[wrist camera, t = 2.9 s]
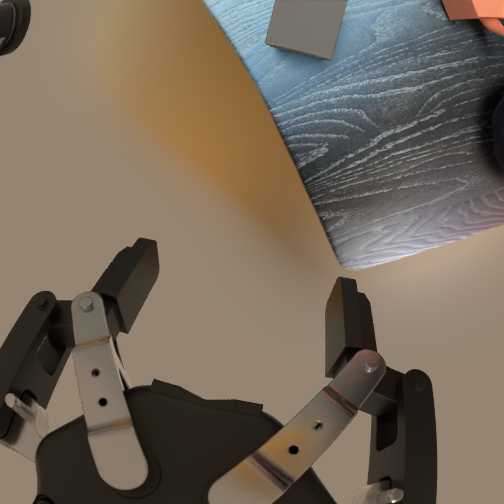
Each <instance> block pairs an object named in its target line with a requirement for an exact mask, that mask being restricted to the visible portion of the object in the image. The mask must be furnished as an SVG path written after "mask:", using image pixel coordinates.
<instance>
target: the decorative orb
mask: <svg viewBox="0 0 504 504" xmlns="http://www.w3.org/2000/svg"><path fill="white" fill-rule="evenodd" d="M492 124H493V143H494V156H495V157H496V159H497V161H498V163H499V164H500V166H501V168H502V170H503V172H504V96H503V97H502V99H501V101H500V102H499V104H498V106H497V107H496V109H495V111H494V112H493V114H492Z"/></svg>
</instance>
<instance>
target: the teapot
mask: <svg viewBox="0 0 504 504" xmlns="http://www.w3.org/2000/svg"><path fill="white" fill-rule="evenodd" d="M442 2H443V4H444V7H445V9H446V11H447V14H448V16H449V19H450V20H462V19H479V20H480V21H481V22H482V24H483V25H484V26H485V27H486V28H487V29H488V30H490V31H492V32H494V33H496V34H498V35H500V36H502V37H504V27H503V25H502V24H501V22H500V21H499V19H504V0H442Z"/></svg>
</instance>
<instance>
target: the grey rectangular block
mask: <svg viewBox="0 0 504 504" xmlns="http://www.w3.org/2000/svg"><path fill="white" fill-rule="evenodd" d="M346 3H347V0H275V4H274V8H273V12H272V16H271V20H270V24H269V28H268V32H267V37H266V41H265V44H267V45H270V46H272V47H274V48H277V49H281V50H286V51H290V52H294V53H298V54H302V55H306V56H310V57H313V58H317V59H321V60H331V59H332V56H333V52H334V48H335V45H336V41H337V37H338V34H339V30H340V26H341V22H342V19H343V15H344V11H345V7H346Z"/></svg>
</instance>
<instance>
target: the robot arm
mask: <svg viewBox="0 0 504 504" xmlns="http://www.w3.org/2000/svg"><path fill="white" fill-rule="evenodd" d="M17 19H18V11H17V7H16V5H15V4H14V3H13V2H5V3H1V4H0V50H1V49H3V48H5V47H6V46H7V45H8V43H9V42H10V40H11V39H12V37H13V34H14V32H15V29H16V25H17ZM158 274H159V259H158V251H157V242H156V241H155V240H150V239H144V238H139V239H138V240H137V241H136V242H135V244H134V245H133V246H132V247H128V246H127V247H126V248H125V249H123V250H122V251H120V252H119V253H118V254H117V255H116V257H115V258H114V259H113V262H111V263H110V265H109V266H108V268H107V269H106V270H105V272H104V273H103V274H102V276H101V277H100V279H99V280H98V282H97V283H96V285H95V286H94V287H93V289H92V290H91V291H90V292H84V293H81V294H79V295H78V296H77V297H76V298H75V299H74V300H73V301H70V300H68V301H67V300H61V301H60V300H57V299H56V297H55V295H54V294H53V293H52V292H50V291H41V292H39V293H37V294H36V295H34V296H33V297H32V298H31V300H30V301H29V303H28V304H27V306H26V307H25V309H24V310H23V312H22V313H21V315H20V316H19V318H18V320H17V321H16V323H15V325H14V326H13V328H12V330H11V331H10V333H9V334H8V336H7V338H6V340H5V341H4V343H3V345H2V347H1V349H0V444H2V445H3V446H5V447H7V448H11V449H12V450H14V451H16V452H18V453H20V454H21V455H23V456H25V457H26V458H28V459H29V460H31V461H33V462H34V463H35V464H36V472H37V495H36V498H35V500H34V502H33V504H337V503H336V502H335V500H334V499H333V498H332V496H331V495H330V493H329V492H328V490H327V489H326V487H325V486H324V485H323V483H322V482H321V480H320V479H319V477H318V476H317V474H316V473H315V471H314V470H313V468H312V467H311V465H312V464H313V463H314V462H315V461H316V460H317V459H318V458H319V457H320V456H321V455H322V454H323V453H324V452H325V451H326V450H327V449H328V447H329V446H330V445H331V444H332V443H333V442H334V441H335V440H336V439H337V437H338V436H339V435H340V434H341V433H342V431H343V430H344V429H345V428H346V427H347V426H348V424H349V423H350V422H351V421H352V420H353V418H354V417H355V416H356V414H357V413H358V412H357V411H358V410H360V411H363V412H365V413H368V414H371V415H372V420H371V443H370V459H369V472H368V481H367V486H365V487H363V488H361V489H360V490H358V492H357V493H356V494H355V496H354V498H353V502H352V504H436V494H437V439H436V438H437V437H436V420H435V408H434V398H433V390H432V383H431V380H430V378H429V377H428V375H427V374H426V373H424V372H423V371H421V370H417V369H413V370H410V371H408V372H407V373H406V374H403V373H401V372H398V371H396V370H393V369H391V368H389V367H387V366H386V363H385V361H384V359H383V358H382V356H381V355H380V354H378V353H377V347H376V339H375V332H374V325H373V318H372V314H371V313H372V312H371V306H370V302H369V300H368V299H367V297H366V295H365V294H364V293H359V292H358V291H357V284H356V280H355V279H350V278H344V277H338V278H337V280H336V283H335V285H334V287H333V290H332V292H331V294H330V297H329V299H328V302H327V305H326V311H325V328H326V329H325V333H326V334H325V335H326V336H325V339H326V349H325V350H326V351H325V352H326V354H325V355H326V356H325V361H326V362H325V377H329V378H333V380H332V381H331V382H330V383H329V384H328V386H326V387H324V388H323V389H322V390H321V391H320V392H319V393H318V394H317V395H316V396H315V397H314V398H313V399H312V400H311V401H310V402H309V403H308V404H307V405H306V406H305V407H304V408H303V409H302V410H301V411H300V412H299V413H298V414H297V415H296V416H295V417H294V418H293V419H292V420H291V421H289V422H288V423H287V424H286V425H285V426H284V425H283V424H281V423H280V422H279V421H278V420H277V419H275V418H274V417H273V416H271V415H269V414H267V413H265V412H263V411H262V409H263V404H257V403H252V402H246V401H241V400H236V399H235V400H234V399H233V400H206V399H203V398H201V397H199V396H197V395H195V394H193V393H191V392H189V391H187V390H185V389H183V388H182V387H180V386H177V385H173V384H170V383H166V382H163V381H159V380H156V379H154V380H153V382H152V385H145V386H144V385H143V386H136V387H133V388H132V386H131V383H130V381H129V378H128V376H127V373H126V370H125V366H124V363H123V359H122V356H121V352H120V348H119V345H118V341H117V338H116V337H117V335H118V334H119V332H123V333H126V334H128V333H129V331H130V329H131V326H132V325H133V323H134V321H135V319H136V317H137V315H138V313H139V312H140V309H141V308H142V306H143V303H144V302H145V300H146V298H147V296H148V295H149V292H150V291H151V289H152V287H153V285H154V283H155V282H156V279H157V277H158ZM44 338H45V339H44ZM43 340H44V341H43ZM42 342H43V343H42ZM41 344H42V345H41ZM40 346H41V347H40ZM39 347H40V348H39ZM38 349H39V350H38ZM71 351H72V354H73V361H74V367H75V373H76V379H77V384H78V389H79V394H80V399H81V403H82V408H83V412H84V414H83V415H81V416H80V417H78V418H76V419H74V420H73V421H71V422H69V423H67V424H65V425H63V426H62V427H60V428H58V429H56V430H54V431H52V432H51V433H49V434H47V431H48V429H49V424H48V415H47V412H46V408H47V405H48V403H49V400H50V398H51V395H52V393H53V391H54V388H55V386H56V384H57V382H58V379H59V377H60V375H61V373H62V370H63V368H64V366H65V364H66V362H67V359H68V358H69V356H70V354H71Z"/></svg>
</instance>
